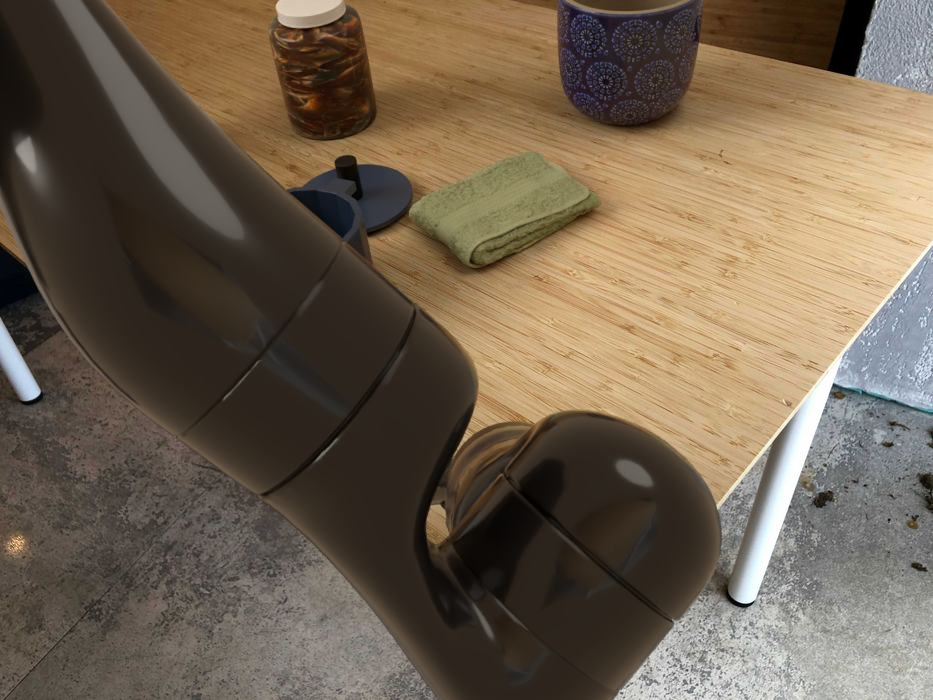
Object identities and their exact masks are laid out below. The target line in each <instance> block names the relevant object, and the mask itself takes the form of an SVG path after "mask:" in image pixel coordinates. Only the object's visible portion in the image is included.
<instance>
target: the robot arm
mask: <svg viewBox="0 0 933 700" xmlns="http://www.w3.org/2000/svg"><path fill="white" fill-rule="evenodd" d="M0 210H1V212H2V215H3V218H4V219H5V221H6V224H7V227H8V228H9V230H10V233H11V236H12V237H13V239H14V242H15V244H16V246H17V249H18V250H19V252H20V254H21V256H22V258H23V260H24V262H25V264H26V267H27V269H28V271H29V273H30V275H31V277H32V279H33V281H34V283H35V285H36V287H37V290H38V291H39V293H40V295H41V296H42V299H43V300H44V301H45V304H46V305H47V307H48V309H49V310H50V312H51V314H52V315H53V317H54V318H55V320H56V321H57V323H58V324H59V326H60V327H61V329H62V330H63V332H64V333H65V335H66V336H67V337H68V339H69V341H70V342H71V343H72V344H73V345H74V347H75V348H76V349H77V350H78V352H79V353H80V354H81V356H82V357H83V358H84V359H85V360H86V362H87V363H88V365H90V366H91V367H92V368H93V370H94V371H95V372H96V373H97V374H98V375H99V376H100V377H101V378H102V379H103V380H104V381H105V382H106V383H107V384H108V385H109V386H110V387H111V388H112V389H113V390H114V391H115V392H116V393H117V394H119V396H121V397H122V398H123V399H125V400H126V402H128V403H129V404H130V405H132V406H133V407H134V408H135V409H137V411H138V412H139V413H141V414H142V415H144V416H145V417H146V418H147V419H148V420H151V422H153V423H155V425H156V426H158V427H160V428H161V429H162V430H164V431H165V432H167V434H169V435H171V436H172V437H175V439H176V440H178V441H179V442H180V443H182V444H183V445H184V446H186V447H187V448H189V449H190V450H191V451H193V452H194V453H195V454H197V455H198V456H199V457H201V458H202V459H203V460H205V461H206V462H207V463H208V464H210V465H212V466H213V467H214V468H216V469H217V470H219V472H221V473H223V475H225V476H227V477H228V478H229V479H230V480H232V481H234V482H235V483H236V484H238V485H239V486H240V487H242V488H243V489H244V490H246V491H247V492H248V493H250V494H252V495H255V496H256V498H257V499H258V500H259V501H261V502H262V503H263V504H265V505H266V506H267V507H268V508H269V509H272V510H273V511H274V512H275V513H277V514H278V515H279V516H281V517H282V518H283V519H284V520H286V521H287V522H288V523H289V524H290V525H292V526H293V527H294V528H295V529H296V530H297V531H298V532H299V533H300V534H301V535H303V536H304V538H306V539H307V540H308V541H309V542H310V543H311V544H312V545H313V546H314V547H315V548H316V549H317V550H318V551H319V552H320V553H321V554H322V555H323V556H324V557H325V559H327V561H328V562H330V564H331V565H332V566H333V567H334V568H335V569H336V571H338V573H339V574H341V576H342V577H343V578H344V580H346V582H348V584H349V585H350V586H351V587H352V588H353V590H355V592H356V593H357V594H358V595H359V597H360V598H361V599H362V600H363V601H364V603H366V604H367V605H368V607H369V608H370V609H371V610H372V612H373V613H374V615H375V616H376V617H377V619H378V620H379V621H380V622H381V624H382V625H383V627H384V628H385V629H386V630H387V632H388V633H389V634H390V635H391V636H392V638H393V640H394V641H395V643H396V644H397V645H398V647H399V648H400V649H401V651H402V652H403V654H404V655H405V657H406V658H407V660H408V661H409V662H410V664H411V665H412V667H413V668H414V670H415V671H416V672H417V674H418V675H419V677H420V678H421V679H422V681H423V682H424V683H425V685H426V686H427V687H428V689H429V690H430V692H431V693H432V694H433V696H434V697H435V698H436V699H437V700H615V699H616V697H617V696H618V695H619V693H620V691H622V690H623V689H624V688H625V686H626V685H627V684H628V683H629V682H630V680H631V679H632V678H633V677H634V676H635V675H636V674H637V672H638V671H639V669H641V667H642V666H643V665H644V663H645V662H646V661H647V660H648V658H649V657H650V656H651V655H652V654H653V653H654V651H655V650H656V649H657V647H658V646H660V644H661V643H662V642H663V640H664V639H665V638H666V636H667V635H668V634H669V633H670V632H671V630H672V629H673V628H674V627H675V622H678V621H681V619H682V618H683V617H684V616H685V615H686V614H687V612H688V611H689V610H690V609H691V607H692V606H693V605H694V603H696V601H697V600H698V599H699V597H700V596H701V595H702V593H703V592H704V591H705V589H706V588H707V586H708V585H709V583H710V581H711V580H712V578H713V576H714V574H715V571H716V569H717V568H718V564H719V560H720V556H721V552H722V545H723V532H722V521H721V516H720V512H719V509H718V507H717V503H716V500H715V497H714V495H713V493H712V490H711V489H710V488H709V486H708V484H707V482H706V481H705V479H704V478H703V477H702V474H700V472H699V471H698V470H697V468H696V467H695V466H694V465H693V464H692V463H691V462H690V461H689V459H687V458H686V456H684V455H683V454H682V453H681V452H680V451H678V449H677V448H675V447H674V446H673V445H671V443H669V442H668V441H666V440H665V439H664V438H662V437H661V436H660V435H658V434H656V433H655V432H653V431H651V430H649V429H648V428H646V427H644V426H642V425H640V424H638V423H636V422H633V421H631V420H628V419H626V418H623V417H620V416H617V415H614V414H610V413H606V412H602V411H599V410H591V409H565V410H561V411H557V412H554V413H550V414H548V415H546V416H543V417H541V419H538V421H537V422H535V423H529V422H523V421H502V422H499V423H494V424H491V425H488V426H486V427H484V428H482V429H480V430H478V431H477V432H475V433H473V434H472V435H471V436H470V437H469V438H467V439H466V440H465V441H464V442H463V444H462V445H461V442H462V441H463V439H464V437H465V435H466V432H467V431H468V427H469V425H470V423H471V421H472V417H473V415H474V412H475V409H476V405H477V401H478V397H479V392H480V391H479V389H480V379H479V372H478V368H477V366H476V364H475V362H474V359H473V358H472V355H470V353H469V351H468V350H467V349H466V348H465V347H464V346H463V345H462V344H461V343H460V341H459V339H457V338H456V337H455V336H454V335H453V334H452V333H451V332H450V331H449V330H447V329H446V328H445V327H444V326H443V325H442V324H441V323H440V322H439V321H437V319H436V318H434V317H433V316H432V315H431V314H430V313H428V312H427V310H425V309H424V308H423V307H422V306H421V305H419V304H418V303H417V302H414V300H413V299H412V298H411V297H410V296H409V295H408V294H406V293H405V292H404V291H403V290H402V289H401V288H400V287H399V286H397V285H396V284H395V283H394V282H393V281H392V280H391V279H390V278H388V277H387V276H386V274H383V272H381V271H380V270H379V269H378V268H377V267H376V266H374V264H373V265H372V264H371V263H370V262H368V261H367V260H366V259H365V258H364V257H363V256H362V255H360V254H359V253H358V252H357V251H356V250H355V249H354V248H352V247H351V246H350V245H349V244H348V243H347V242H346V241H344V240H342V237H340V236H339V235H338V234H337V233H335V232H334V231H333V230H332V229H331V228H330V227H329V226H327V225H326V224H325V223H324V222H323V221H322V220H320V219H319V218H318V217H317V216H316V215H315V214H314V213H312V212H311V211H310V210H309V209H308V208H307V207H305V206H304V205H303V204H302V203H301V202H300V201H299V200H297V199H296V198H295V197H294V196H293V195H292V194H290V193H289V192H288V191H287V190H286V188H285V187H284V186H283V185H282V184H281V183H280V182H279V181H277V180H276V179H275V178H274V177H273V176H272V175H271V174H270V173H269V172H268V171H267V170H266V169H265V168H263V167H262V166H261V165H260V164H259V163H258V162H257V161H256V160H255V159H254V158H253V157H251V155H250V154H248V153H247V152H246V151H245V150H244V149H243V148H242V147H241V146H240V145H239V144H237V142H235V140H234V139H232V138H231V137H230V136H229V135H228V133H226V132H225V131H224V129H222V128H221V127H220V126H219V125H218V124H217V123H216V121H214V120H213V119H212V118H211V116H210V115H208V114H207V113H206V112H205V110H204V109H202V107H201V106H200V105H199V104H198V103H197V102H196V101H195V100H194V99H193V98H192V97H191V96H190V95H189V94H188V92H187V91H186V90H185V89H184V88H183V87H182V86H181V85H180V83H179V82H177V80H176V79H175V78H174V77H173V76H172V75H171V74H170V73H169V72H168V70H166V68H165V67H163V66H162V64H161V63H160V62H159V61H158V60H157V59H156V57H155V56H154V55H153V54H152V53H151V52H150V51H149V50H148V49H147V47H146V46H145V45H144V44H143V43H142V42H141V41H140V39H138V37H137V36H136V35H135V34H134V33H133V32H132V30H131V29H129V27H128V26H127V25H126V24H125V23H124V22H123V21H122V19H121V18H120V17H119V16H118V14H117V13H116V12H115V11H114V10H113V8H112V7H111V6H110V5H109V4H108V3H107V1H106V0H0ZM459 446H460V447H459ZM431 506H440V507H441V508H442V509H443V510H444V512H445V526H446V528H447V531H448V533H449V534H448V535H447V536H445V538H444V539H443V540H442V541H441V542H439V543H438V544H437V543H435V542H433V541H431V540H430V539H429V538H428V533H427V532H428V531H427V525H428V524H427V523H428V522H427V521H428V517H429V513H430V510H431Z"/></svg>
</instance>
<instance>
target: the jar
mask: <svg viewBox="0 0 933 700" xmlns="http://www.w3.org/2000/svg"><path fill="white" fill-rule="evenodd" d="M275 11H276V15H275V16H274V17H273V19H271V21H270V22H269V25H268V39H269V43H270V49H271V53H272V57H273V61H274V66H275V70H276V74H277V78H278V82H279V86H280V90H281V94H282V99H283V103H284V107H285V111H286V114H287V117H288V121H289V125H290V127H291V129H292V131H293V132H294V133H296V134H297V135H299V136H301V137H304V138H307V139H310V140H322V141H323V140H325V141H326V140H327V141H329V140H336V139H343V138H346V137H349V136H352V135H355V134H357V133H359V132H361V131H363V130H365V129H367V128H368V127H369V126H370V125H371V124H372V123H373V122H374V121H375V120H376V117H377V113H378V109H377V101H376V95H375V88H374V84H373V83H374V82H373V77H372V72H371V71H372V70H371V65H370V61H369V55H368V54H369V53H368V49H367V44H366V39H365V33H364V28H363V24H362V20H361V17H360V14H359V13H358V11H357V9H356V8H354V7H353V6H351V5H349V4H346V3H345V0H278V1H277V3H276V4H275Z"/></svg>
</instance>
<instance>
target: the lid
mask: <svg viewBox="0 0 933 700" xmlns="http://www.w3.org/2000/svg"><path fill="white" fill-rule="evenodd" d="M333 163H334V167H335V168H333V169H330V170H326V171H325V172H323V173H321V174H318V175H316V176H315V177H312V178H311V179H310V180H309V181H307V182H306V183H304V185H302V186H301V187H309V186H321V187H326V186H327V185H328V184H329V183H330V182H331V181H332V180H333V179H334V178H338V179H344V180H349V181H354V182H355V184H356V189H357V190H356V191H355V192H354V193H353V194H352V195H351V197H352V198H354V199H355V200H356V201H357V203H358V205H359V207H360V209H361V211H362V213H363V218H364V223H365V228H366V232H367V233H370V232H374V231H377V230H380V229H382V228H384V227H386V226H388V225H390V224H392V223H394V222H396V221H397V220H398V219H399V218H401V217H402V216H403V215H404V214H405V213H406V212H407V211H408V209H409V208H410V206H411V205H412V202H413V198H414V190H413V189H414V188H413V184H412V183H411V181H410V179H409V178H408V177H407V176H406V175H405V174H404V173H402V172H401V171H399V170H397V169H395V168H393V167H390V166H386V165H382V164H373V163H360V164H358V160H357V157H355V155H351V154H344V155H341V156H338V157H336V158H335V160H334V162H333Z"/></svg>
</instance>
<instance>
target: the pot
mask: <svg viewBox="0 0 933 700" xmlns="http://www.w3.org/2000/svg"><path fill="white" fill-rule="evenodd" d="M285 189H286V188H285ZM286 190H287V191H288V192H289V193H290V194H292V195H293V196H294V197H295V198H296V199H297V200H299V201H300V202H301V203H302V204H303V205H304V206H305V207H307V208H308V209H309V210H310V211H311V212H312V213H314V214H315V215H316V216H317V217H318V218H319V219H320V220H322V221H323V222H324V223H325V224H326V225H327V226H329V227H330V228H331V229H332V230H333V231H334V232H335V233H337V234H338V235H339V236H340V237H342V240H344V241H346V242H347V243H348V244H349V245H350V246H351V247H352V248H354V249H355V250H356V251H357V252H358V253H359V254H360V255H362V256H363V257H364V258H365V259H366V260H367V261H368V262H370V263H371V264H372V265H373V266H374V262H373V258H372V257H373V256H372V253H371V248H370V242H369V237H368V232H366V228H365V223H364V218H363V213H362V211H361V209H360V207H359V205H358V203H357V201H356V200H355V199H354V198H352V197H351V195H352V194H353V193H354V192H355V191H356V190H357V189H356V184H355V182H354V181H349V180H344V179H338V178H334V179H333V180H332V181H331V182H330V183H329V184H328V185H327V186H326V187H321V186H309V187H302V186H297V187H296V186H294V187H290V188H287V189H286Z"/></svg>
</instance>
